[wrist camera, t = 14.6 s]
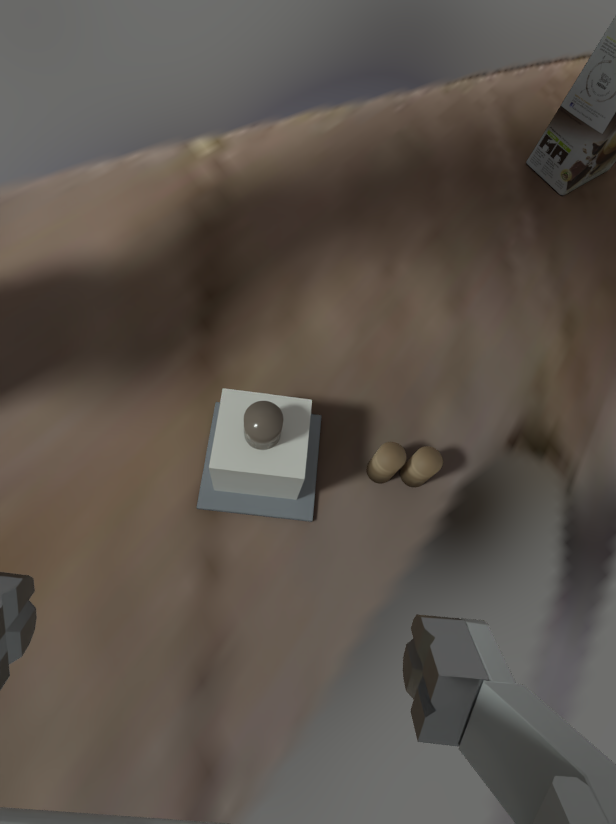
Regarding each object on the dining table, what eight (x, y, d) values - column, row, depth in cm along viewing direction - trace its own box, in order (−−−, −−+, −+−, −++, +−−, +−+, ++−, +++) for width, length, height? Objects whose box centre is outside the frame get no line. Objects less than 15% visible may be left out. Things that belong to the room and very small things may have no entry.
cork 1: (365, 481, 41) (377, 467, 37) (366, 456, 42) (378, 440, 38) (391, 484, 41) (406, 471, 37) (392, 459, 42) (406, 443, 38)
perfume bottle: (214, 490, 39) (206, 456, 31) (226, 419, 41) (221, 371, 34) (296, 499, 39) (308, 468, 32) (303, 429, 42) (316, 384, 34)
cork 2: (399, 485, 41) (414, 471, 38) (400, 460, 42) (414, 444, 38) (425, 488, 41) (443, 475, 38) (425, 463, 42) (442, 448, 39)
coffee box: (562, 198, 57) (672, 50, 42) (523, 163, 59) (615, 8, 44) (610, 171, 60) (729, 22, 45) (572, 137, 62) (674, -16, 47)
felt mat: (197, 508, 38) (196, 507, 38) (216, 403, 42) (215, 401, 42) (311, 521, 39) (312, 520, 39) (320, 417, 43) (321, 415, 42)
